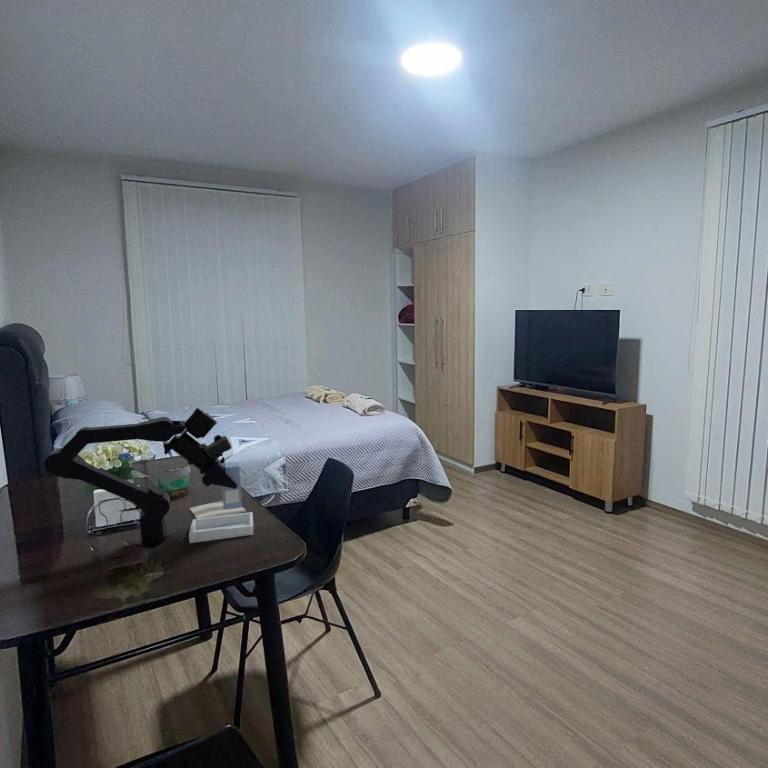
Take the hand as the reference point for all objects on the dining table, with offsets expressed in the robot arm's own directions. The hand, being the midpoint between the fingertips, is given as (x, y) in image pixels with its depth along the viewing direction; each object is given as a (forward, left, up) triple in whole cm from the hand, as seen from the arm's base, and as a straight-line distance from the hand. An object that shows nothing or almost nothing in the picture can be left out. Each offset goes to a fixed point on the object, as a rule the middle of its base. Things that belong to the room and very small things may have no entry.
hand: (236, 484), depth 148 cm
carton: (-1, +1, -6) cm, 6 cm away
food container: (+23, +33, -13) cm, 42 cm away
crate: (-4, +3, -13) cm, 14 cm away
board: (+11, +12, -13) cm, 21 cm away
